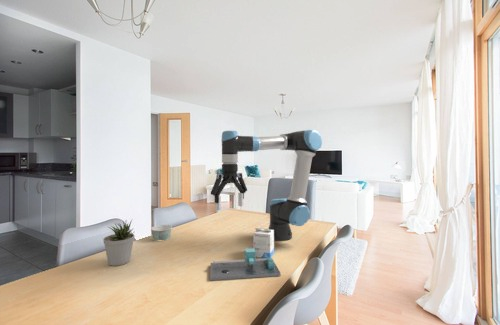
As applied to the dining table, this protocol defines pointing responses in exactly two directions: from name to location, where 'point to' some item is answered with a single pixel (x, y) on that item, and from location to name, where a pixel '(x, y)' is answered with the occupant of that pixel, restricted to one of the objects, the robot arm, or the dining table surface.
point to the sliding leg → (250, 256)
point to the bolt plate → (243, 269)
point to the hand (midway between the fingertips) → (229, 208)
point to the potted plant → (119, 245)
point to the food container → (161, 232)
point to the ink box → (263, 242)
